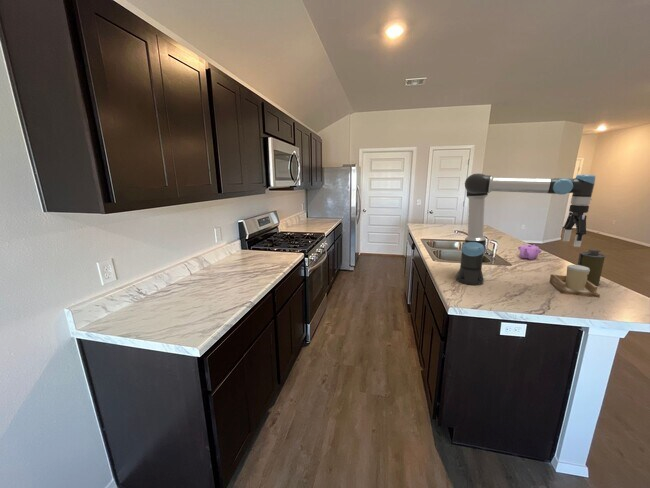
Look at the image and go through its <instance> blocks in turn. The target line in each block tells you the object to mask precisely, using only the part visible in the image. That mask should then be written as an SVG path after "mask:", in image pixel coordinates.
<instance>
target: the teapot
mask: <svg viewBox="0 0 650 488" xmlns="http://www.w3.org/2000/svg"><path fill="white" fill-rule="evenodd" d="M517 248H518V251H519V256H518V257H519V258H521V259H523V260H524V259H528V260H530V261H533V260H536V258H538V255H539V254H541V252H542V249H540V247H539V246H536V243H535V244H533V245H532V244H525V245H521V246H520V245H519V246H518V247H517Z"/></svg>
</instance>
